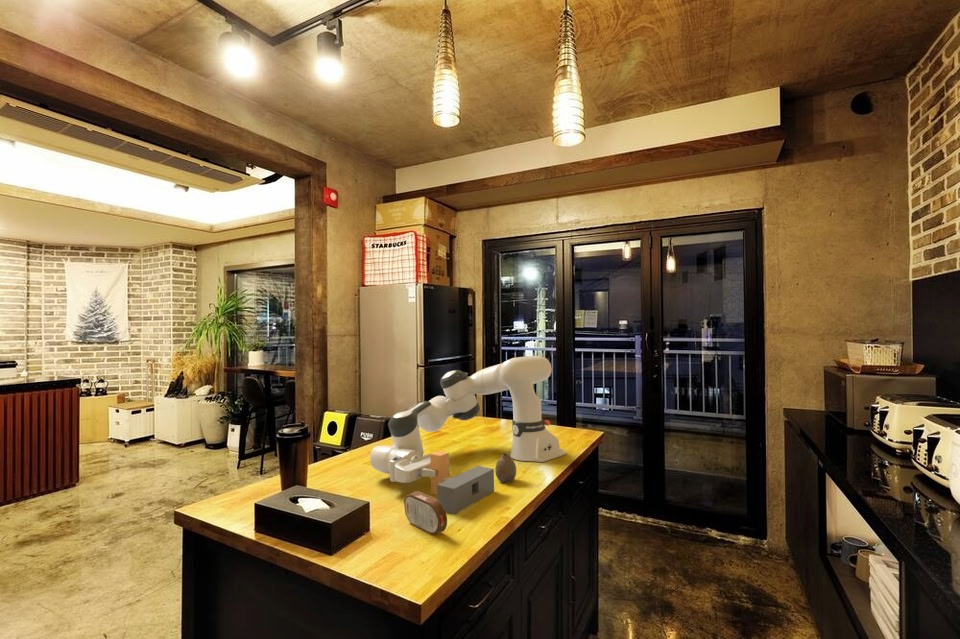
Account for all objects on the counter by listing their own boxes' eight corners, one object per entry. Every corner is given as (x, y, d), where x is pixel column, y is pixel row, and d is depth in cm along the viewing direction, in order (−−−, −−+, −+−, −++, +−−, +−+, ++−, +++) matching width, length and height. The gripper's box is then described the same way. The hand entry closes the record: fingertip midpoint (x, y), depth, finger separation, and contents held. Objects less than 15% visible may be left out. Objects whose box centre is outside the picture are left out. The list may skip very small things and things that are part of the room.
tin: (448, 536, 110) (447, 501, 110) (438, 540, 108) (437, 505, 108) (412, 518, 121) (411, 486, 121) (402, 522, 118) (401, 490, 118)
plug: (462, 494, 136) (461, 455, 136) (454, 499, 132) (453, 458, 133) (439, 489, 141) (438, 450, 141) (431, 493, 137) (430, 453, 138)
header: (494, 491, 139) (493, 468, 139) (454, 514, 122) (454, 488, 122) (478, 487, 142) (477, 465, 142) (437, 509, 126) (437, 484, 126)
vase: (518, 478, 150) (518, 452, 150) (513, 485, 144) (512, 458, 144) (499, 476, 152) (498, 450, 152) (492, 483, 146) (492, 456, 146)
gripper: (430, 465, 154) (462, 471, 146) (386, 482, 137) (419, 491, 129) (429, 446, 154) (462, 452, 146) (385, 462, 137) (419, 469, 129)
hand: (441, 470), depth 138 cm, fingers closed on plug, 4 cm apart
